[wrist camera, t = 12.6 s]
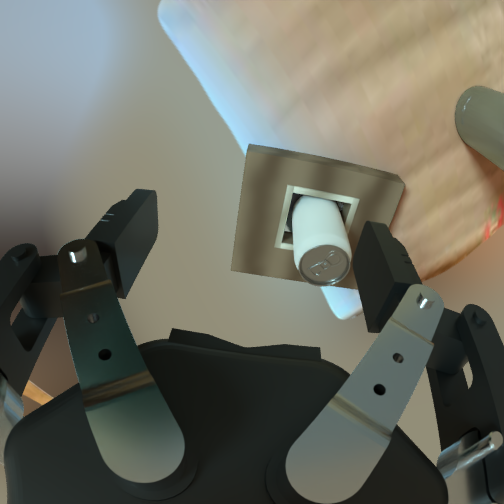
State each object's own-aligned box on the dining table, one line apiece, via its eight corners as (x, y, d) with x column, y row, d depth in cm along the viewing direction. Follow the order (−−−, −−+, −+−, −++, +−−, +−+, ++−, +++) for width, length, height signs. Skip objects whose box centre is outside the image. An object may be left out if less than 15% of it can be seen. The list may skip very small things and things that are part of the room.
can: (347, 214, 42) (365, 269, 33) (311, 239, 45) (318, 298, 36) (319, 181, 40) (331, 230, 30) (281, 209, 43) (281, 264, 33)
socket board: (397, 175, 38) (405, 184, 36) (357, 277, 49) (361, 291, 46) (249, 143, 38) (246, 151, 35) (233, 258, 48) (230, 271, 46)
